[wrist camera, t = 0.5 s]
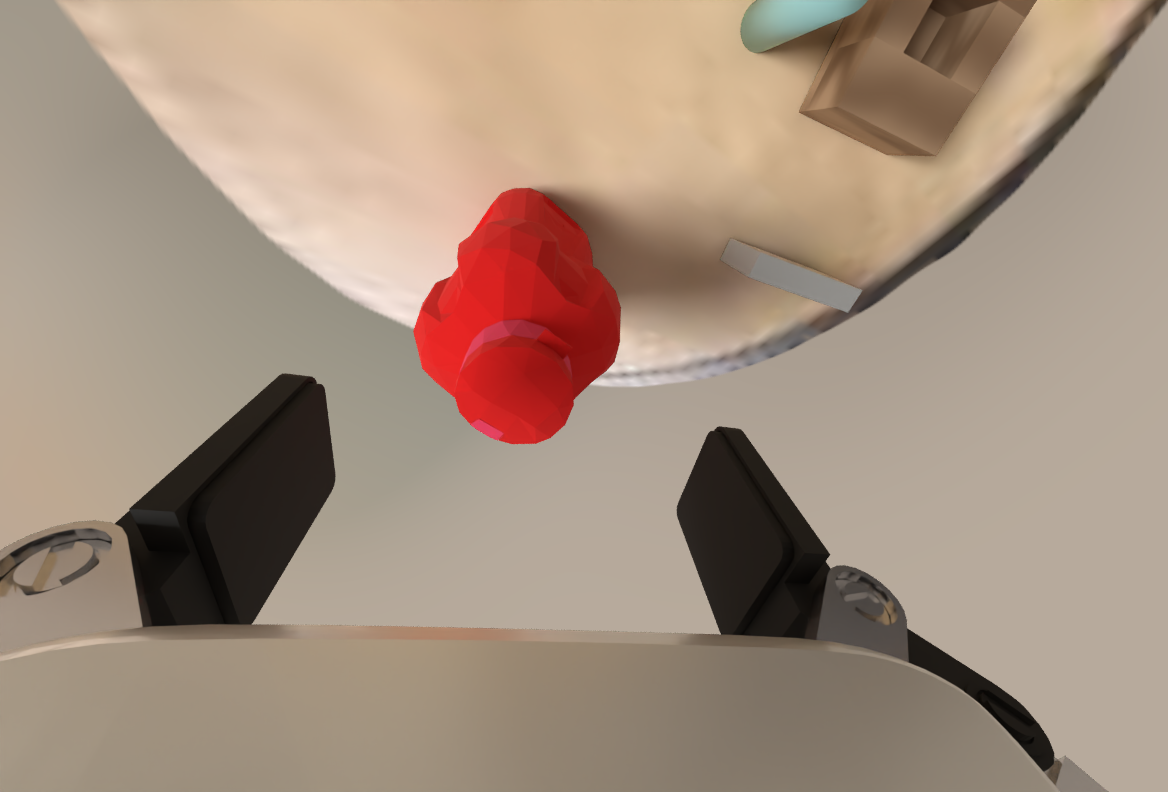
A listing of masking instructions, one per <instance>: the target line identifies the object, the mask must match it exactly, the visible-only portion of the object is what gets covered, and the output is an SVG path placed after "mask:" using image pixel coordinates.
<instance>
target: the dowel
mask: <svg viewBox="0 0 1168 792" xmlns="http://www.w3.org/2000/svg"><path fill="white" fill-rule="evenodd" d="M867 1H868V0H756V1H755V2H754V3H752V4H751V5H750V7H749V8H748V9H747V11H746V12H745V14H744V17H743V19H742V23H741V38H742V41H743V44H744V45H745V47H746V48H747V49H748V50H749V51H751V52H754V53H760V52H764V51H766V50H768V49H771V48H773V47H775V46H778V45H780V44H783V43H785V42H787V41H790V40H792V39H794V38H797V37H799V36H801V35H804V34H806V33H808V32H811V31H813V30H816V29H818V28H820V27H823V26H825V25H827V24H830V23H832V22H834V21H837V20H839V19H841V18H844V17H846V16H849V15H851V14H853V13H855V12H856V11H858V10H859V9H860V8H861V7H862V6H863V5H864V4H865V3H866V2H867Z"/></svg>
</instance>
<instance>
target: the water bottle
mask: <svg viewBox="0 0 1168 792" xmlns="http://www.w3.org/2000/svg"><path fill="white" fill-rule="evenodd" d="M457 259H458V268H457V269H456V271H455V272H454V273H453V275H452V276H451V277H449V278H446V279H444V280H441V281H439V282H437V283H436V284H435V285H434V287H433V288H432V290H431V291H430V293H429V295H428V296H427V298H426V299H425V301H424V302H423V304H422V307H421V310H420V313H419V316H418V319H417V322H416V325H415V328H414V331H413V332H414V336H415V340H416V344H417V348H418V352H419V356H420V360H421V365H422V368H423V370H425V372H426V373H428V375H429V376H430V377H431V378H432V379H433V380H434V381H435V382H436V383H438V384H439V385H440V386H441V387H443V388H444V389H445V390H446V391H447V392H448V393H450V394H451V395H452V396H453V397H455V399H456V402H457V406H458V409H459V412H460V413H461V414H462V416H463V417H464V418H465V419H466V420H467V421H468V422H469V423H470V425H471V426H473V427H474V428H475V429H477V430H478V431H480V432H482V433H483V434H485V435H487V436H489V437H490V438H493V439H495V440H498V439H499V441H503V442H507V443H510V444H534V443H535V444H536V443H538V442H541V441H544V440H546V439H549V438H551V437H552V436H553V435H554V434H555V433H556V432H557V431H559V430H560V429H561V428H562V427H563V426H564V425H565V424H566V421H567V419H568V417H569V415H570V412H571V410H572V407H573V405H574V403H573V400H574V399H575V398H576V397H577V396H578V395H579V394H580V393H581V392H582V391H583V390H584V389H585V388H586V387H587V386H588V385H589V384H590V383H591V382H593V381H594V380H595V379H596V378H598V377H599V376H600V375H602V374H603V373H604V372H606V371H607V370H608V369H609V367H610V366H611V365H612V364H613V363H614V362H615V358H616V354H617V351H618V347H619V343H620V315H621V307H620V304H619V301H618V298H617V294H616V291H615V290H614V289H613V287H612V286H611V285H610V283H609V282H608V281H607V280H606V278H605V277H604V276H603V274H602V273H601V272H600V270H598V269H596V268H594V267H593V260H592V252H591V248H590V244H589V241H588V237H587V235H586V234H585V233H584V231H583V230H582V229H581V228H580V227H579V225H578V224H577V223H576V222H574V221H573V220H572V219H571V218H570V217H569V216H568V215H567V214H566V213H564V212H563V211H562V210H561V209H560V208H559V207H558V206H557V205H556V204H554V203H553V202H552V201H551V200H550V199H549V198H548V197H546V196H545V195H543V194H542V193H540V192H538V191H535V190H533V189H531V188H515V189H511V190H509V191H506V192H503V193H501V194H500V195H499V196H498V198H497V199H496V200H495V201H494V202H493V204H492V205H491V206H490V208H489V209H488V211H487V212H486V214H485V215H484V217H483V218H482V220H481V221H480V223H479V224H478V225H477V227H476V228H475V230H474V231H473V233H472V234H471V236H469V237H468V238H467V239H465V240H464V241H462V242H461V243H460V244H459V248H458V256H457Z"/></svg>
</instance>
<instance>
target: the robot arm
mask: <svg viewBox="0 0 1168 792" xmlns="http://www.w3.org/2000/svg"><path fill="white" fill-rule="evenodd" d="M334 483H335V468H334V459H333V451H332V443H331V435H330V427H329V419H328V411H327V403H326V395H325V389H324V387H323V385H322V384H317V382H316V380H315V378H313V377H310V376H302V375H293V374H281V375H279V376H278V377H277V378H276V379H275V380H274V381H273V382H271V383H270V384H269V385H268V386H267V387H266V388H265V389H264V390H263V391H261V392H260V393H259V394H258V395H257V396H256V397H255V398H254V399H252V400H251V401H250V402H249V403H248V404H247V405H246V406H244V407H243V408H242V409H241V410H240V411H239V412H238V413H237V414H235V415H234V416H233V417H232V418H231V419H230V420H229V421H228V422H226V423H225V424H224V425H223V426H222V427H221V428H220V429H219V430H218V431H216V432H215V433H214V434H213V435H212V436H211V437H210V438H208V439H207V440H206V441H205V442H204V443H203V444H202V445H201V446H199V447H198V448H197V449H196V450H195V451H194V452H193V453H192V454H190V455H189V456H188V457H187V458H186V459H185V460H184V461H183V462H181V463H180V464H179V465H178V466H177V467H176V468H175V469H174V470H172V471H171V472H170V473H169V474H168V475H167V476H166V477H165V478H164V479H162V480H161V481H160V482H159V483H158V484H157V485H156V486H154V487H153V488H152V489H151V490H150V491H149V492H148V493H147V494H146V495H144V496H143V497H142V498H141V499H140V500H139V501H138V502H136V503H135V504H134V505H133V506H132V507H131V508H130V511H129V512H127V513H126V514H125V515H124V516H123V517H122V518H121V519H120V520H118V521H117V522H116V523H115V524H113V523H111V522H104V521H96V520H93V521H81V522H73V523H68V524H64V525H59V526H55V527H51V528H48V529H45V530H42V531H40V532H37V533H34V534H31V535H29V536H26V537H24V538H22V539H20V540H18V541H16V542H14V543H12V544H10V545H8V546H6V547H4V548H3V549H1V550H0V792H1108V791H1107V790H1105V789H1104V788H1103V787H1102V786H1101V785H1100V784H1098V783H1097V782H1096V781H1095V780H1094V779H1092V778H1091V777H1090V776H1089V775H1088V774H1086V773H1085V772H1084V771H1083V770H1082V769H1081V768H1079V767H1078V766H1077V765H1076V764H1075V763H1073V762H1072V761H1071V760H1070V759H1068V758H1067V757H1066V756H1063V757H1062V758H1060V759H1056V758H1055V757H1054V751H1053V749H1052V746H1051V744H1050V741H1049V739H1048V738H1047V736H1046V734H1045V733H1044V731H1043V730H1042V728H1041V727H1040V725H1039V724H1038V723H1037V722H1036V720H1035V719H1034V718H1033V717H1032V716H1031V714H1030V713H1029V712H1028V711H1027V710H1026V708H1025V707H1024V706H1023V705H1021V704H1020V703H1019V702H1018V701H1017V700H1016V699H1014V698H1013V697H1012V696H1010V695H1009V694H1008V693H1006V692H1005V691H1003V690H1002V689H1001V688H999V687H998V686H997V685H995V684H993V683H992V682H990V681H989V680H987V679H986V678H984V677H982V676H981V675H979V674H978V673H976V672H975V671H973V670H972V669H970V668H968V667H967V666H965V665H964V664H962V663H961V662H959V661H957V660H956V659H954V658H953V657H951V656H950V655H948V654H946V653H945V652H943V651H942V650H940V649H939V648H937V647H936V646H934V645H932V644H931V643H929V642H928V641H926V640H925V639H923V638H921V637H920V636H918V635H917V634H915V633H914V632H912V631H910V630H909V629H907V619H906V616H905V612H904V610H903V608H902V606H901V604H900V603H899V601H898V600H897V598H896V597H895V596H894V595H893V594H892V593H891V591H890V590H888V589H887V588H886V587H885V586H884V585H883V584H882V583H881V582H879V581H878V580H877V579H875V578H874V577H872V576H870V575H869V574H867V573H865V572H863V571H861V570H859V569H857V568H853V567H849V566H844V565H843V566H835V567H833V568H831V569H830V567H829V566H828V565H827V563H826V560H827V558H828V557H829V556H830V554H829V552H828V551H827V549H826V548H825V546H824V545H823V544H822V542H821V541H820V539H819V538H818V537H817V535H816V534H815V532H814V531H813V530H812V528H811V527H810V525H809V524H808V523H807V521H806V520H805V518H804V517H803V516H802V514H801V513H800V511H799V510H798V508H797V507H796V506H795V504H794V503H793V501H792V500H791V499H790V497H789V496H788V495H787V493H786V492H785V490H784V489H783V487H782V486H781V485H780V483H779V482H778V481H777V479H776V478H775V476H774V475H773V473H772V472H771V471H770V469H769V468H768V466H767V465H766V463H765V462H764V461H763V459H762V458H761V456H760V455H759V454H758V452H757V451H756V449H755V448H754V446H753V445H752V444H751V442H750V441H749V439H748V438H747V437H746V435H745V434H744V432H743V431H742V430H741V429H736V428H728V427H717V428H716V429H715V430H714V431H710V432H709V433H708V435H707V437H706V440H705V442H704V444H703V446H702V449H701V451H700V453H699V456H698V458H697V460H696V463H695V465H694V468H693V470H692V472H691V474H690V477H689V479H688V482H687V484H686V486H685V489H684V491H683V493H682V495H681V498H680V500H679V503H678V505H677V517H678V520H679V523H680V525H681V528H682V531H683V533H684V536H685V539H686V542H687V544H688V547H689V550H690V552H691V555H692V558H693V560H694V563H695V566H696V569H697V571H698V574H699V577H700V579H701V582H702V585H703V588H704V590H705V593H706V596H707V598H708V601H709V604H710V606H711V609H712V611H713V614H714V617H715V620H716V623H717V625H718V628H719V631H720V633H721V635H719V634H686V633H652V632H619V631H618V632H617V631H580V630H578V631H577V630H541V629H540V630H539V629H498V628H496V629H495V628H454V627H452V628H451V627H402V626H401V627H400V626H399V627H398V626H350V625H251V624H252V623H253V621H254V620H255V618H256V617H257V615H258V613H259V612H260V610H261V608H262V607H263V605H264V603H265V602H266V600H267V598H268V597H269V595H270V593H271V592H272V590H273V588H274V587H275V585H276V583H277V582H278V580H279V578H280V577H281V575H282V573H283V572H284V570H285V568H286V567H287V565H288V563H289V562H290V560H291V558H292V557H293V555H294V553H295V551H296V550H297V548H298V547H299V545H300V543H301V541H302V540H303V538H304V537H305V535H306V533H307V532H308V530H309V528H310V527H311V525H312V523H313V522H314V520H315V518H316V517H317V515H318V513H319V512H320V510H321V508H322V507H323V505H324V503H325V502H326V500H327V498H328V497H329V495H330V493H331V491H332V489H333V487H334Z"/></svg>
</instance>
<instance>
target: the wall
mask: <svg viewBox="0 0 1168 792" xmlns="http://www.w3.org/2000/svg"><path fill="white" fill-rule="evenodd" d="M720 260H721V261H723V262H724V263H726V264H728V265H729V266H731V267H732V268H734V269H736V270H737V271H739V272H740V273H742V274H744V275H745V276H747V277H749V278H751V279H754V280H757V281H760V282H763V283H766V284H768V285H771V286H774V287H777V288H780V289H783V290H785V291H788V292H791V293H794V294H797V295H799V296H802V297H805V298H808V299H811V300H814V301H816V302H819V303H822V304H825V305H828V306H831V307H833V308H836V309H839V310H842V311H845V312H847V313H848V312H849V310H850V309H851V307H852V306H853V304H854V303H855V301H856V300H857V298H858V297H859V295H860V294H861V292H862V291H863V290H861V289H858V288H856V287H854V286H852V285H849V284H847V283H845V282H843V281H840V280H838V279H836V278H834V277H831V276H829V275H827V274H825V273H822V272H820V271H817V270H815V269H812V268H809V267H807V266H804V265H801V264H799V263H796V262H793V261H791V260H788V259H785V258H783V257H780V256H777V255H775V254H772V253H769V252H767V251H764V250H761V249H759V248H756V247H753V246H751V245H748V244H745V243H743V242H740V241H738V240H735V239H732V238H730V240H729V242H728V244H727V246H726V248H725V250H724V252H723V254H722V256H721V258H720Z"/></svg>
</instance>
